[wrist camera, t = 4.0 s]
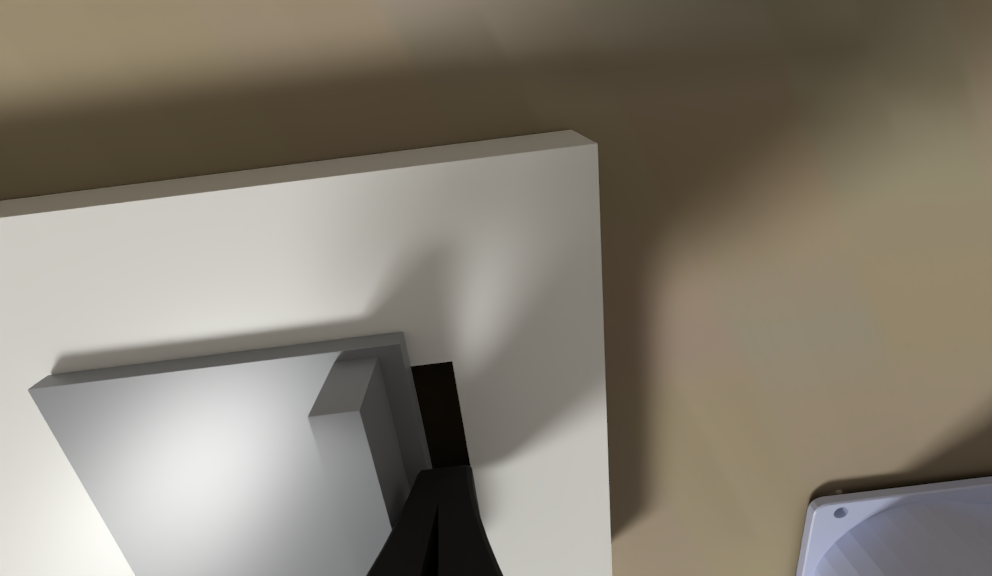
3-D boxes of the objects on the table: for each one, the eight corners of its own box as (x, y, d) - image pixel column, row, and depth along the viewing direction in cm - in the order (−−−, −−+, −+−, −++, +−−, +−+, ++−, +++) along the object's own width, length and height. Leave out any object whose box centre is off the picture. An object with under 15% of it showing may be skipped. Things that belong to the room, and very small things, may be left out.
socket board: (571, 129, 13) (601, 145, 10) (593, 556, 19) (616, 645, 16) (-216, 227, 13) (-423, 272, 10) (60, 620, 19) (-16, 721, 16)
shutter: (403, 331, 12) (385, 396, 9) (455, 577, 15) (452, 672, 13) (48, 375, 12) (-60, 450, 9) (179, 610, 15) (123, 711, 13)
